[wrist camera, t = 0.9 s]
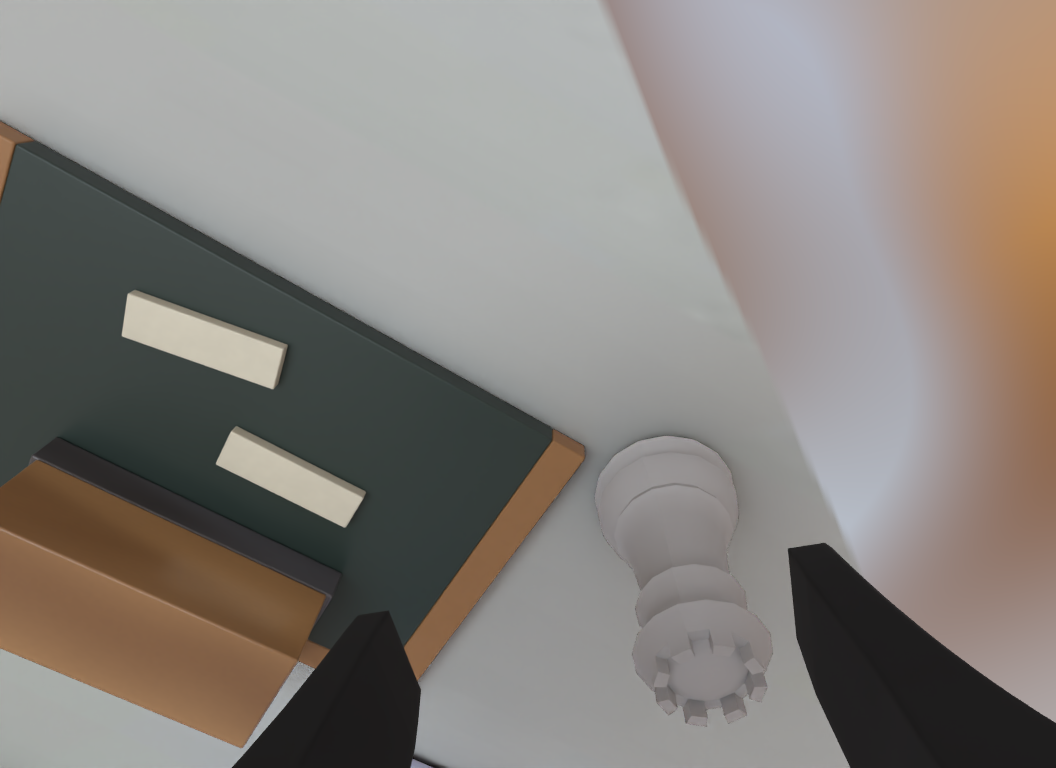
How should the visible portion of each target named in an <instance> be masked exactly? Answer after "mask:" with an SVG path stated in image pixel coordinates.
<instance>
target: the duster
mask: <svg viewBox="0 0 1056 768" xmlns="http://www.w3.org/2000/svg"><path fill="white" fill-rule="evenodd" d="M341 576H342V574H341V573H340V572H338V571H336V570H334V569H332V568H330V567H328V566H326V565H323V564H321V563H319V562H317V561H315V560H313V559H311V558H309V557H307V556H305V555H303V554H300V553H298V552H296V551H294V550H292V549H290V548H288V547H286V546H284V545H282V544H280V543H278V542H275V541H273V540H271V539H269V538H267V537H265V536H263V535H261V534H259V533H257V532H255V531H252V530H250V529H248V528H246V527H244V526H242V525H240V524H238V523H236V522H234V521H232V520H230V519H227V518H225V517H223V516H221V515H219V514H217V513H215V512H213V511H211V510H209V509H207V508H204V507H202V506H200V505H198V504H196V503H194V502H192V501H190V500H188V499H186V498H184V497H182V496H179V495H177V494H175V493H173V492H171V491H169V490H167V489H165V488H163V487H161V486H159V485H157V484H154V483H152V482H150V481H148V480H146V479H144V478H142V477H140V476H138V475H136V474H134V473H131V472H129V471H127V470H125V469H123V468H121V467H119V466H117V465H115V464H113V463H111V462H109V461H106V460H104V459H102V458H100V457H98V456H96V455H94V454H92V453H90V452H88V451H86V450H83V449H81V448H79V447H77V446H75V445H73V444H71V443H69V442H67V441H65V440H63V439H61V438H58V437H56V438H54V439H53V440H52V441H50V442H49V443H48V444H46V445H45V446H44V447H42V448H41V449H40V450H38V451H37V452H36V453H34V454H33V455H32V456H31V459H30V462H29V465H28V467H26V468H25V469H24V470H22V471H21V472H20V473H18V474H17V475H16V476H15V477H13V478H12V479H11V480H9V481H8V482H7V483H5V484H4V485H3V486H1V487H0V648H1V649H3V650H6V651H8V652H11V653H13V654H15V655H18V656H20V657H23V658H25V659H27V660H30V661H32V662H35V663H37V664H39V665H42V666H44V667H47V668H49V669H51V670H54V671H56V672H59V673H61V674H64V675H66V676H68V677H71V678H73V679H76V680H78V681H80V682H83V683H85V684H88V685H90V686H92V687H95V688H97V689H100V690H102V691H104V692H107V693H109V694H112V695H114V696H116V697H119V698H121V699H124V700H126V701H129V702H131V703H133V704H136V705H138V706H141V707H143V708H145V709H148V710H150V711H153V712H155V713H157V714H160V715H162V716H165V717H167V718H169V719H172V720H174V721H177V722H179V723H181V724H184V725H186V726H189V727H191V728H194V729H196V730H198V731H201V732H203V733H206V734H208V735H210V736H213V737H215V738H218V739H220V740H222V741H225V742H227V743H230V744H232V745H234V746H237V747H239V748H243V747H244V746H245V744H246V742H247V741H248V739H249V738H250V736H251V735H252V733H253V731H254V730H255V728H256V727H257V725H258V724H259V722H260V720H261V719H262V717H263V716H264V714H265V713H266V711H267V709H268V708H269V706H270V705H271V703H272V701H273V700H274V698H275V697H276V695H277V694H278V692H279V690H280V689H281V687H282V686H283V684H284V683H285V681H286V679H287V678H288V676H289V675H290V673H291V672H292V670H293V668H294V667H295V665H296V664H297V662H298V660H299V658H300V656H301V653H302V651H303V649H304V646H305V644H306V642H307V640H308V637H309V635H310V633H311V631H312V629H313V628H314V626H315V624H316V623H317V621H318V620H319V618H320V616H321V615H322V613H323V612H324V610H325V608H326V607H327V605H328V604H329V602H330V601H331V599H332V597H333V595H334V593H335V590H336V588H337V586H338V583H339V581H340V579H341Z"/></svg>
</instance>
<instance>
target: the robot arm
mask: <svg viewBox="0 0 1056 768" xmlns="http://www.w3.org/2000/svg"><path fill="white" fill-rule="evenodd" d="M788 555H789V565H790V575H791V585H792V595H793V606H794V616H795V626H796V636H797V640H798V643H799V646H800V649H801V652H802V655H803V658H804V661H805V664H806V667H807V670H808V673H809V676H810V678H811V681H812V684H813V687H814V690H815V693H816V695H817V698H818V700H819V702H820V704H821V706H822V708H823V710H824V713H825V715H826V717H827V719H828V721H829V723H830V725H831V728H832V730H833V732H834V734H835V736H836V738H837V740H838V742H839V745H840V747H841V749H842V751H843V753H844V755H845V757H846V759H847V761H848V763H849V766H850V768H1056V723H1055V722H1053V721H1052V720H1050V719H1048V718H1047V717H1045V716H1043V715H1042V714H1040V713H1039V712H1037V711H1036V710H1034V709H1033V708H1031V707H1029V706H1028V705H1027V704H1025V703H1024V702H1022V701H1021V700H1019V699H1017V698H1016V697H1014V696H1012V695H1011V694H1010V693H1008V692H1007V691H1005V690H1004V689H1003V688H1001V687H999V686H998V685H996V684H995V683H994V682H992V681H991V680H989V679H988V678H987V677H985V676H984V675H983V674H981V673H980V672H978V671H977V670H975V669H974V668H973V667H971V666H970V665H969V664H967V663H966V662H965V661H963V660H962V659H961V658H959V657H958V656H957V655H955V654H954V653H953V652H951V651H950V650H949V649H947V648H946V647H945V646H944V645H942V644H941V643H940V642H938V641H937V640H936V639H935V638H933V637H932V636H931V635H930V634H928V633H927V632H926V631H924V630H923V629H922V628H921V627H920V626H918V625H917V624H916V623H915V622H914V621H913V620H911V619H910V618H909V617H908V616H907V615H905V614H904V613H903V612H902V611H901V610H899V609H898V608H897V607H896V606H895V605H893V604H892V603H891V602H890V601H889V600H888V599H886V598H885V597H884V596H883V595H882V594H881V593H880V592H879V591H877V590H876V589H875V588H874V587H873V586H872V585H871V584H870V583H869V582H867V581H866V580H865V579H864V578H863V577H862V576H861V575H860V574H859V573H858V572H857V571H856V570H854V569H853V568H852V567H851V566H850V565H849V564H848V563H847V562H846V561H845V560H844V559H843V558H842V557H841V556H840V555H839V554H838V553H837V552H836V551H835V550H834V549H833V548H832V547H830V546H829V545H827V544H826V543H820V544H814V545H808V546H801V547H795V548H788ZM420 694H421V689H420V686H419V684H418V681H417V679H416V677H415V674H414V672H413V669H412V667H411V664H410V662H409V659H408V657H407V654H406V652H405V649H404V647H403V644H402V642H401V640H400V637H399V635H398V632H397V630H396V627H395V625H394V622H393V620H392V617H391V615H390V612H389V610H388V611H382V612H375V613H369V614H362V615H358V616H357V617H356V618H355V619H354V620H353V622H352V623H351V624H350V625H349V626H348V628H347V629H346V630H345V631H344V633H343V634H342V635H341V637H340V638H339V639H338V640H337V642H336V643H335V644H334V646H333V647H332V648H331V649H330V651H329V652H328V653H327V655H326V656H325V657H324V658H323V660H322V661H321V662H320V664H319V665H318V666H317V667H316V669H315V670H314V671H313V672H312V674H311V675H310V676H309V678H308V679H307V680H306V681H305V683H304V684H303V685H302V686H301V688H300V689H299V690H298V691H297V693H296V694H295V695H294V696H293V698H292V699H291V700H290V701H289V703H288V704H287V705H286V706H285V707H284V709H283V710H282V711H281V712H280V713H279V714H278V716H277V717H276V718H275V719H274V720H273V721H272V723H271V724H270V725H269V726H268V727H267V728H266V730H265V731H264V732H263V733H262V734H261V735H260V736H259V738H258V739H257V740H256V741H255V742H254V743H253V745H252V746H251V747H250V748H249V749H248V750H247V751H246V753H245V754H244V755H243V756H242V757H241V758H240V759H239V760H238V762H237V763H236V764H235V765H234V766H233V767H232V768H433V767H431V766H428V765H426V764H424V763H421V762H419V761H417V760H414V759H413V754H414V750H415V744H416V735H417V726H418V717H419V706H420Z"/></svg>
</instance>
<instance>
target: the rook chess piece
mask: <svg viewBox="0 0 1056 768" xmlns="http://www.w3.org/2000/svg"><path fill="white" fill-rule="evenodd" d="M594 499H595V503H596V507H597V511H598V517H599V521H600V524H601V528H602V532H603V536H604V537H605V539H606V541H607V542H608V544H609V545H610V546H611V547H612V548H613V549H614V551H615V552H616V553H617V554H618V555H619V557H620V558H621V559H622V560H624V561H626V563H627V564H628V565H629V566H630V567H631V568H632V569H633V571H634V573H635V576H636V579H637V582H638V585H639V587H640V593H639V597H638V600H637V604H636V608H635V610H636V614H637V618H638V622H639V625H640V626H641V628H642V630H641V631H640V632H639V633H638V634H637V638H636V641H635V645H634V648H633V652H632V657H633V661H634V664H635V668H636V672H637V674H638V675H639V676H640V678H641V679H642V680H643V681H644V682H645V683H646V684H647V685H648V686H649V688H650V689H651V690H653V691H654V692H655V694H656V701H657V704H658V705H659V706H660V707H661V708H662V709H663V710H664V711H665V712H666V713H667V715H670V714H671V713H673V712H674V711H676V710H677V709H678V708H677V705H679V706H681V707H683V711H684V716H685V722H686V724H690V725H698V726H705V727H707V719H708V717H707V713H706V710H707V709H714V708H721V707H722V708H723V712H724V716H725V718H726V720H727V722H728V724H729V723H731V722H734V721H736V720H738V719H740V718H743V717H745V716H747V712H746V708H745V705H744V701H743V698H744V697H745V696H746V695H747V694H748V695H749V698H750V699H751V700H755V701H758V702H762V700H763V697H764V695H765V692H766V690H767V687H768V686H767V683H766V680H765V677H764V674H765V672H766V669H767V667H768V664H769V662H770V659H771V657H772V654H773V650H772V643H771V636H770V632H769V631H768V630H767V628H766V627H765V626H764V624H763V623H762V622H761V621H760V619H759V618H758V617H757V615H755V614H753V613H751V612H749V611H747V602H746V595H745V591H744V589H743V588H742V587H741V585H740V584H739V583H738V582H737V580H736V579H735V578H734V577H733V576H732V575H731V574H730V571H729V567H728V559H727V549H728V546H729V543H730V541H731V539H732V536H733V533H734V530H735V527H736V524H737V521H738V517H739V508H738V501H737V495H736V488H735V487H734V486H733V480H732V474H731V471H730V470H729V468H728V467H727V466H726V464H725V463H724V461H723V460H722V459H721V457H720V456H719V455H718V453H717V452H715V451H713V450H712V449H710V448H708V447H706V446H705V445H703V444H701V443H699V442H698V441H696V440H694V439H687V438H680V437H674V436H667V435H666V436H661V437H656V438H651V439H645V440H640V441H637V442H636V443H634V444H632V445H631V446H629V447H627V448H626V449H624V450H622V451H621V452H619V453H617V454H616V455H614V457H613V458H612V459H611V460H610V462H609V463H608V464H607V466H606V467H605V468H604V470H603V471H602V472H601V474H600V475H599V479H598V483H597V488H596V492H595V497H594Z"/></svg>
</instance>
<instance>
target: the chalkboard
mask: <svg viewBox="0 0 1056 768" xmlns="http://www.w3.org/2000/svg"><path fill="white" fill-rule="evenodd" d="M134 290H137V291H140V292H143V293H145V294H148V295H151V296H154V297H156V298H159V299H162V300H165V301H168V302H170V303H173V304H176V305H179V306H181V307H184V308H187V309H190V310H193V311H195V312H198V313H201V314H204V315H206V316H209V317H212V318H215V319H218V320H220V321H223V322H226V323H229V324H231V325H234V326H237V327H240V328H243V329H245V330H248V331H251V332H254V333H256V334H259V335H262V336H265V337H268V338H270V339H273V340H276V341H279V342H281V343H284V344H287V345H288V347H287V351H286V355H285V359H284V363H283V367H282V371H281V374H280V378H279V382H278V385H277V386H276V387H275V388H274V389H270V388H267V387H265V386H262V385H259V384H256V383H253V382H250V381H247V380H245V379H242V378H239V377H236V376H233V375H230V374H228V373H225V372H222V371H219V370H216V369H213V368H210V367H208V366H205V365H202V364H199V363H196V362H193V361H191V360H188V359H185V358H182V357H179V356H176V355H173V354H171V353H168V352H165V351H162V350H159V349H156V348H154V347H151V346H148V345H145V344H142V343H139V342H136V341H134V340H131V339H128V338H125V337H123V336H122V330H123V323H124V316H125V309H126V302H127V295H128V293H130V292H132V291H134ZM236 426H238V427H240V428H242V429H243V430H245V431H247V432H249V433H251V434H253V435H255V436H257V437H259V438H261V439H263V440H265V441H267V442H269V443H271V444H273V445H275V446H277V447H279V448H281V449H283V450H285V451H287V452H289V453H291V454H293V455H295V456H297V457H299V458H301V459H303V460H305V461H307V462H309V463H311V464H313V465H315V466H316V467H318V468H320V469H322V470H324V471H326V472H328V473H330V474H332V475H334V476H336V477H338V478H340V479H342V480H344V481H346V482H348V483H350V484H352V485H354V486H356V487H358V488H360V489H362V490H364V491H365V492H366V494H365V496H364V498H363V500H362V502H361V503H360V505H359V507H358V508H357V510H356V512H355V513H354V515H353V517H352V518H351V520H350V522H349V523H348V525H347V527H345V528H344V527H342V526H340V525H338V524H336V523H334V522H332V521H330V520H328V519H326V518H324V517H322V516H320V515H318V514H316V513H314V512H311V511H309V510H307V509H305V508H303V507H301V506H299V505H297V504H295V503H293V502H291V501H289V500H287V499H285V498H283V497H281V496H279V495H277V494H275V493H273V492H271V491H269V490H267V489H265V488H263V487H261V486H259V485H257V484H255V483H253V482H251V481H249V480H247V479H245V478H243V477H240V476H238V475H236V474H234V473H232V472H230V471H228V470H226V469H224V468H222V467H220V466H218V465H216V462H217V460H218V457H219V455H220V453H221V451H222V449H223V447H224V445H225V443H226V441H227V439H228V437H229V434H230V432H231V431H232V430H233V429H234V428H235V427H236ZM56 437H58V438H61V439H63V440H65V441H67V442H69V443H71V444H73V445H75V446H77V447H79V448H81V449H83V450H86V451H88V452H90V453H92V454H94V455H96V456H98V457H100V458H102V459H104V460H106V461H109V462H111V463H113V464H115V465H117V466H119V467H121V468H123V469H125V470H127V471H129V472H131V473H134V474H136V475H138V476H140V477H142V478H144V479H146V480H148V481H150V482H152V483H154V484H157V485H159V486H161V487H163V488H165V489H167V490H169V491H171V492H173V493H175V494H177V495H179V496H182V497H184V498H186V499H188V500H190V501H192V502H194V503H196V504H198V505H200V506H202V507H204V508H207V509H209V510H211V511H213V512H215V513H217V514H219V515H221V516H223V517H225V518H227V519H230V520H232V521H234V522H236V523H238V524H240V525H242V526H244V527H246V528H248V529H250V530H252V531H255V532H257V533H259V534H261V535H263V536H265V537H267V538H269V539H271V540H273V541H275V542H278V543H280V544H282V545H284V546H286V547H288V548H290V549H292V550H294V551H296V552H298V553H300V554H303V555H305V556H307V557H309V558H311V559H313V560H315V561H317V562H319V563H321V564H323V565H326V566H328V567H330V568H332V569H334V570H336V571H338V572H340V573H341V574H342V576H341V579H340V581H339V583H338V586H337V588H336V590H335V593H334V595H333V597H332V599H331V601H330V602H329V604H328V605H327V607H326V608H325V610H324V612H323V613H322V615H321V616H320V618H319V620H318V621H317V623H316V624H315V626H314V628H313V629H312V631H311V633H310V635H309V637H308V640H307V642H306V644H305V646H304V649H303V651H302V653H301V656H300V658H299V660H298V661H299V662H301V663H304V664H306V665H308V666H310V667H313V668H315V669H316V667H317V666H318V665H319V664H320V662H321V661H322V660H323V658H324V657H325V656H326V655H327V653H328V652H329V651H330V649H331V648H332V647H333V646H334V644H335V643H336V642H337V640H338V639H339V638H340V637H341V635H342V634H343V633H344V631H345V630H346V629H347V628H348V626H349V625H350V624H351V623H352V622H353V620H354V619H355V618H356V617H357V616H358V615H362V614H369V613H375V612H382V611H388V610H389V612H390V615H391V617H392V620H393V622H394V625H395V627H396V630H397V632H398V635H399V637H400V640H401V642H402V644H403V647H404V649H405V652H406V654H407V657H408V659H409V662H410V664H411V667H412V669H413V672H414V674H415V677H416V679H417V681H418V680H419V678H420V677H421V676H422V674H423V673H424V672H425V670H426V669H427V668H428V666H429V665H430V664H431V662H432V661H433V660H434V658H435V657H436V656H437V654H438V653H439V652H440V650H441V649H442V648H443V646H444V645H445V644H446V642H447V641H448V640H449V638H450V637H451V636H452V634H453V633H454V632H455V630H456V629H457V628H458V626H459V625H460V624H461V622H462V621H463V620H464V618H465V617H466V616H467V614H468V613H469V612H470V611H471V609H472V608H473V607H474V605H475V604H476V603H477V601H478V600H479V599H480V597H481V596H482V595H483V593H484V592H485V591H486V589H487V588H488V587H489V585H490V584H491V583H492V581H493V580H494V579H495V577H496V576H497V575H498V573H499V572H500V571H501V569H502V568H503V567H504V565H505V564H506V563H507V561H508V560H509V559H510V557H511V556H512V555H513V553H514V552H515V551H516V549H517V548H518V547H519V545H520V544H521V543H522V541H523V540H524V539H525V538H526V536H527V535H528V534H529V532H530V531H531V530H532V528H533V527H534V526H535V524H536V523H537V522H538V520H539V519H540V518H541V516H542V515H543V514H544V512H545V511H546V510H547V508H548V507H549V506H550V504H551V503H552V502H553V500H554V499H555V498H556V496H557V495H558V494H559V492H560V491H561V490H562V488H563V487H564V486H565V484H566V483H567V482H568V480H569V479H570V478H571V476H572V475H573V474H574V472H575V471H576V470H577V468H578V467H579V466H580V465H581V463H582V462H583V461H584V459H585V451H584V446H583V445H581V444H580V443H578V442H576V441H574V440H572V439H571V438H569V437H567V436H565V435H563V434H562V433H560V432H558V431H556V430H552V428H551V427H549V426H547V425H545V424H544V423H542V422H540V421H538V420H536V419H535V418H533V417H531V416H529V415H527V414H526V413H524V412H522V411H520V410H518V409H517V408H515V407H513V406H511V405H509V404H508V403H506V402H504V401H502V400H500V399H499V398H497V397H495V396H493V395H491V394H490V393H488V392H486V391H484V390H482V389H481V388H479V387H477V386H475V385H473V384H472V383H470V382H468V381H466V380H464V379H463V378H461V377H459V376H457V375H455V374H454V373H452V372H450V371H448V370H446V369H445V368H443V367H441V366H439V365H437V364H436V363H434V362H432V361H430V360H428V359H427V358H425V357H423V356H421V355H419V354H418V353H416V352H414V351H412V350H410V349H409V348H407V347H405V346H403V345H401V344H400V343H398V342H396V341H394V340H393V339H391V338H389V337H387V336H385V335H384V334H382V333H380V332H378V331H376V330H375V329H373V328H371V327H369V326H367V325H366V324H364V323H362V322H360V321H358V320H357V319H355V318H353V317H351V316H349V315H348V314H346V313H344V312H342V311H340V310H339V309H337V308H335V307H333V306H331V305H330V304H328V303H326V302H324V301H322V300H321V299H319V298H317V297H315V296H313V295H312V294H310V293H308V292H306V291H304V290H303V289H301V288H299V287H297V286H295V285H294V284H292V283H290V282H288V281H286V280H285V279H283V278H281V277H279V276H277V275H276V274H274V273H272V272H270V271H268V270H267V269H265V268H263V267H261V266H259V265H258V264H256V263H254V262H252V261H250V260H249V259H247V258H245V257H243V256H242V255H240V254H238V253H236V252H234V251H233V250H231V249H229V248H227V247H225V246H224V245H222V244H220V243H218V242H216V241H215V240H213V239H211V238H209V237H207V236H206V235H204V234H202V233H200V232H198V231H197V230H195V229H193V228H191V227H189V226H188V225H186V224H184V223H182V222H180V221H179V220H177V219H175V218H173V217H171V216H170V215H168V214H166V213H164V212H162V211H161V210H159V209H157V208H155V207H153V206H152V205H150V204H148V203H146V202H144V201H143V200H141V199H139V198H137V197H135V196H134V195H132V194H130V193H128V192H126V191H125V190H123V189H121V188H119V187H117V186H116V185H114V184H112V183H110V182H108V181H107V180H105V179H103V178H101V177H99V176H98V175H96V174H94V173H92V172H91V171H89V170H87V169H85V168H83V167H82V166H80V165H78V164H76V163H74V162H73V161H71V160H69V159H67V158H65V157H64V156H62V155H60V154H58V153H56V152H55V151H53V150H51V149H49V148H47V147H46V146H44V145H42V144H40V143H38V142H36V141H34V140H33V139H31V138H29V137H28V136H26V135H24V134H22V133H20V132H19V131H17V130H15V129H13V128H11V127H10V126H8V125H6V124H4V123H2V122H1V121H0V487H1V486H3V485H4V484H5V483H7V482H8V481H9V480H11V479H12V478H13V477H15V476H16V475H17V474H18V473H20V472H21V471H22V470H24V469H25V468H26V467H28V465H29V462H30V459H31V456H32V455H33V454H34V453H36V452H37V451H38V450H40V449H41V448H42V447H44V446H45V445H46V444H48V443H49V442H50V441H52V440H53V439H54V438H56Z"/></svg>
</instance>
